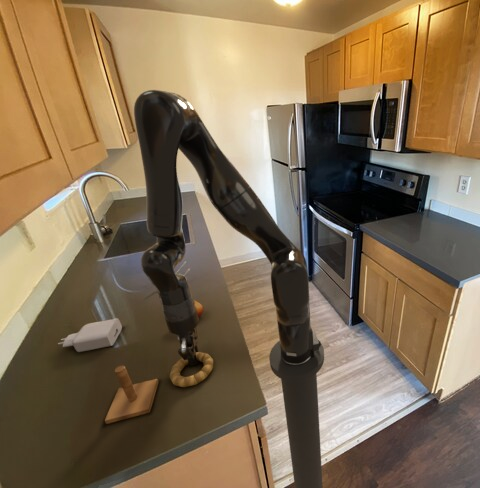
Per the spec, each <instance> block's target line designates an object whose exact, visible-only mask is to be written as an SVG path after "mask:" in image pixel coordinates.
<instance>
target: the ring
mask: <svg viewBox="0 0 480 488" xmlns="http://www.w3.org/2000/svg"><path fill="white" fill-rule="evenodd" d="M196 356H197V360H198V362H201V363H203V367H202V368H201V369H200V370H199V371H198V372H196V373H195V374H193V375H188V376H183V375H181V372H182V370H183V369H184V368H185V367H186V366H189V362H188V360H184V359H183V358H182V357H180V359H178V360H177V361H176V362H175V363H174V365H173V366H172V367H171V369H170V372H169V373H170V374H169V379H170V382H171V383H172V384H173V385H174V386H176V387H180V388H189V387H191V386H196V385H198V384H199V383H200V382H202V381H204V380H206V378H207V377H208V376H209V375H210V374H211V372H212V371H213V369H214V359H213V358H212V357H211V355H210V354H209V353H207V352H202V351H199V352H196Z"/></svg>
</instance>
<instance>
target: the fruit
mask: <svg viewBox="0 0 480 488" xmlns="http://www.w3.org/2000/svg"><path fill="white" fill-rule="evenodd" d="M194 303H195V307H196V310H197V314H198V318H199V319H200V318H201V316H202V315H203V312H204V305H202V304H201V303H200V302H198V301H196V300H194Z"/></svg>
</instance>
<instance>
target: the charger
mask: <svg viewBox="0 0 480 488" xmlns="http://www.w3.org/2000/svg"><path fill="white" fill-rule="evenodd" d="M122 329H123V326H122V323H121V320H120V319H119V317H118V318H111V319H106V320H101V321H95V322H90V323H89V322H88V323H86V324H85V325H83V326H81V328H80V329H79V331H78V332H76V333H71V334H68V335H67V336H66V337H65V338H61V339H60V341H61V342H58V343H57V345H62V348H68V347H73V348H74V350H75V351H76V352H78V353H82V352H83V353H84V352H87V351H91V350H92V351H93V350H97V349H102V348H107V347H111V346H114V345H115V342H116V341H117V339H118V337H119V336H120V334H121V332H122Z"/></svg>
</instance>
